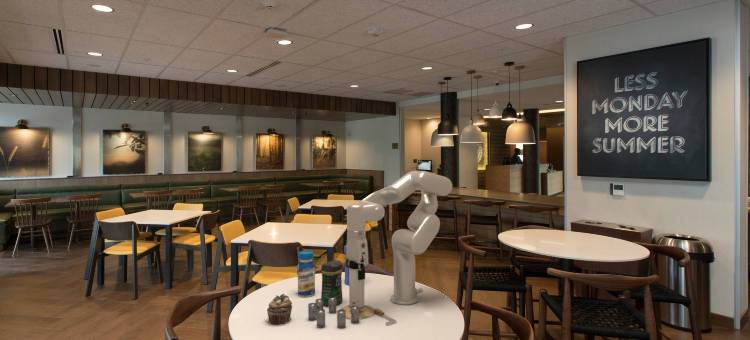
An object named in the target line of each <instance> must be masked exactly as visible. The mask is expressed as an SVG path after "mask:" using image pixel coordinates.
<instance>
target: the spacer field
mask: <svg viewBox="0 0 750 340" xmlns="http://www.w3.org/2000/svg"><path fill="white" fill-rule="evenodd" d="M307 305H308V306H307V308H308V309H307V315H308V321H310V322H314V321H316V328H318V329H324V328H325V327H326V310H325V309H324V305H323V299H321V298H317V299H315V302H309V303H308V304H307ZM328 313H329V314H331V315H333V314H334V315H335V314H336V324H337V325H336V326H337V328H338V329H340V330H342V329H346V327H347V326H346V325H347V323H346V322H347V319H346V311H345V310H340V309H338V310H337V305H336V297H329V306H328ZM350 323H351V324H353V325H357V324H359V323H360V319H359V306H357V305H354V306H351V319H350Z"/></svg>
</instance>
